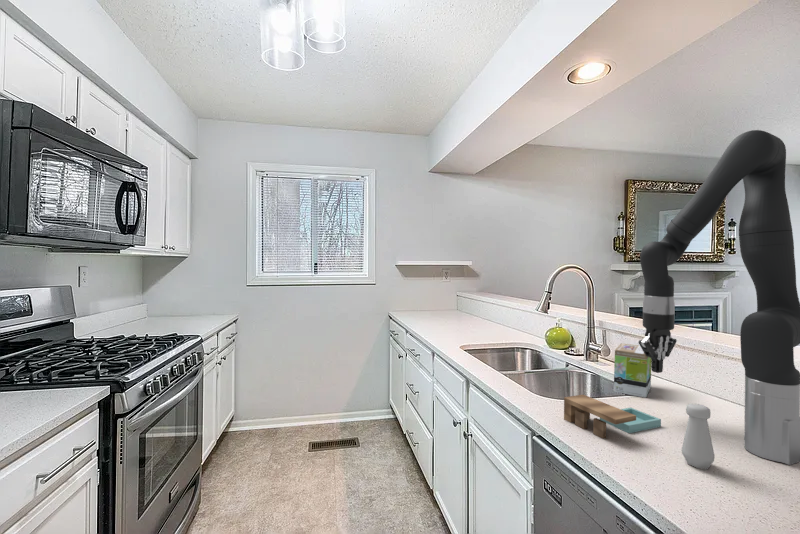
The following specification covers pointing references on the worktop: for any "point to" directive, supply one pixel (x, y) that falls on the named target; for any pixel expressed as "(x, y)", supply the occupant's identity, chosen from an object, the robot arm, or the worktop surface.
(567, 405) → the shelf
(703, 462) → the salt shaker
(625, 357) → the tea box
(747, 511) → the worktop surface
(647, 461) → the worktop surface
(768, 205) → the robot arm
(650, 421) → the tray
